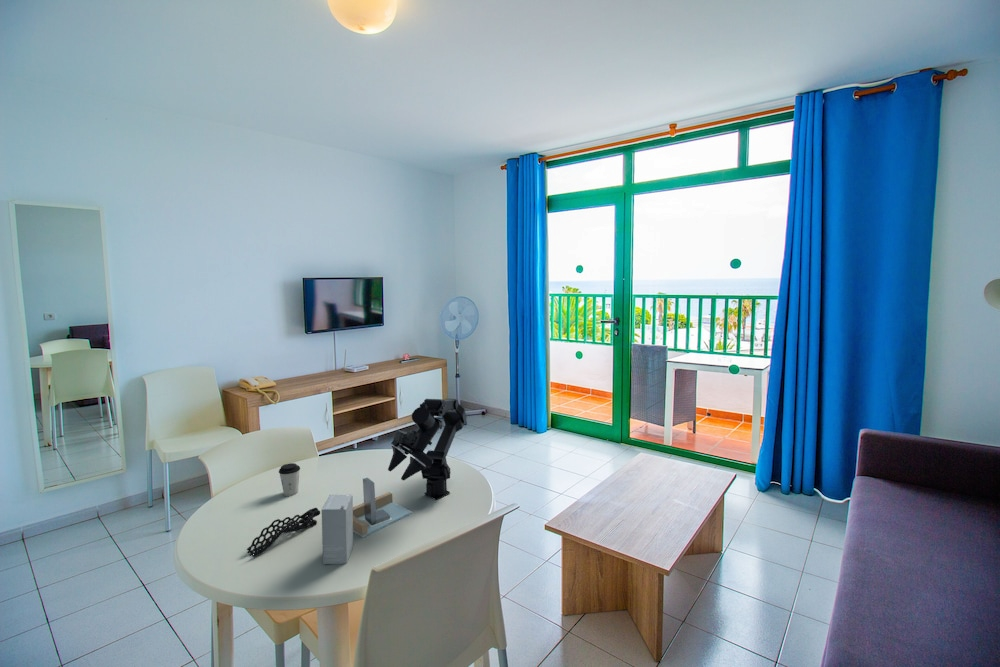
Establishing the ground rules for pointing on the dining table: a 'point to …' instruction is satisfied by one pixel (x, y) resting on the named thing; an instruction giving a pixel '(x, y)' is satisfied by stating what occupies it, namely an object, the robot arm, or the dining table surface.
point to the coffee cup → (289, 478)
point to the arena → (381, 503)
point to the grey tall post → (372, 504)
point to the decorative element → (283, 530)
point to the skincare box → (337, 529)
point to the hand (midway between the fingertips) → (395, 475)
